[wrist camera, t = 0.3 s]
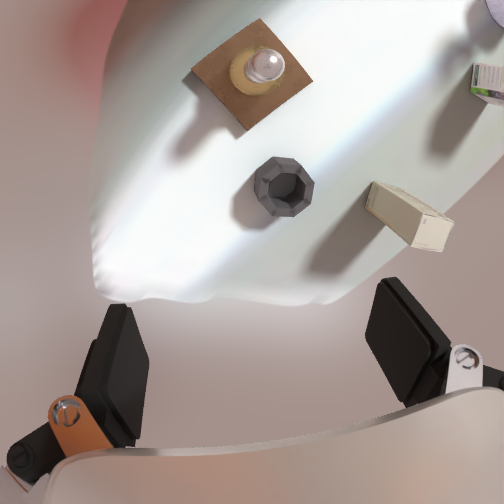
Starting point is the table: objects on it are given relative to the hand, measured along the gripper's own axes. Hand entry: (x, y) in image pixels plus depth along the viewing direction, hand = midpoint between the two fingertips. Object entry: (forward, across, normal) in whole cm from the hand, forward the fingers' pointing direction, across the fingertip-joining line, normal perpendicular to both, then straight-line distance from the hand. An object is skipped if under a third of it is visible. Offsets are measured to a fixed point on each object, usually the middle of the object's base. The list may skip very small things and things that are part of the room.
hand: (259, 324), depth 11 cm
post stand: (+29, -4, -11) cm, 31 cm away
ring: (+29, -7, +3) cm, 30 cm away
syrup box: (+29, -42, -16) cm, 53 cm away
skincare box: (+29, -23, +6) cm, 38 cm away
